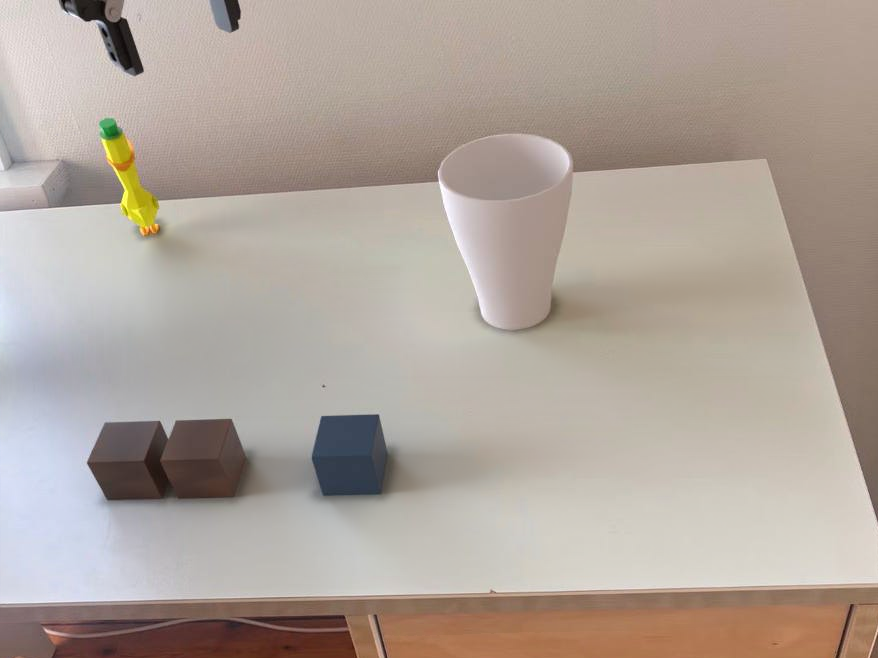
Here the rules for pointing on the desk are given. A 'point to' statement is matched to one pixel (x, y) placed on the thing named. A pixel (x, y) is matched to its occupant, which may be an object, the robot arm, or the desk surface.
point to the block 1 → (130, 460)
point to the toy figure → (128, 177)
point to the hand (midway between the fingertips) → (181, 50)
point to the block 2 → (204, 458)
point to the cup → (509, 221)
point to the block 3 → (350, 455)
